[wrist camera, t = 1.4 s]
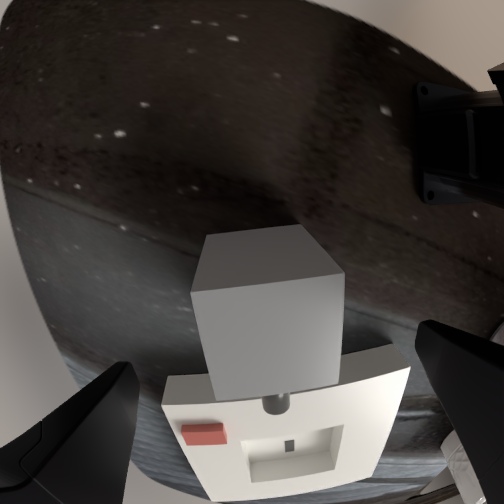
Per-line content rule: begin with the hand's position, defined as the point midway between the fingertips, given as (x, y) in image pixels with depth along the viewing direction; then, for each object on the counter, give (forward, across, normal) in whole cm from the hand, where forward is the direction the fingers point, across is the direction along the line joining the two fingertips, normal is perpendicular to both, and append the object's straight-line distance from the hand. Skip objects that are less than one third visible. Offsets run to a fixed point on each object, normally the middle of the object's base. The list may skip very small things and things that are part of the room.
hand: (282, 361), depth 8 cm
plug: (+7, 0, +1) cm, 7 cm away
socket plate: (+7, -1, +13) cm, 15 cm away
